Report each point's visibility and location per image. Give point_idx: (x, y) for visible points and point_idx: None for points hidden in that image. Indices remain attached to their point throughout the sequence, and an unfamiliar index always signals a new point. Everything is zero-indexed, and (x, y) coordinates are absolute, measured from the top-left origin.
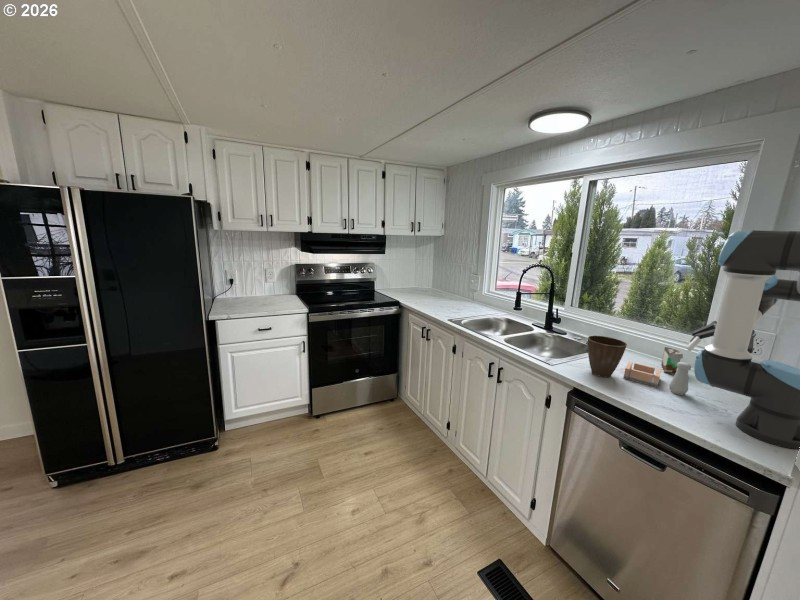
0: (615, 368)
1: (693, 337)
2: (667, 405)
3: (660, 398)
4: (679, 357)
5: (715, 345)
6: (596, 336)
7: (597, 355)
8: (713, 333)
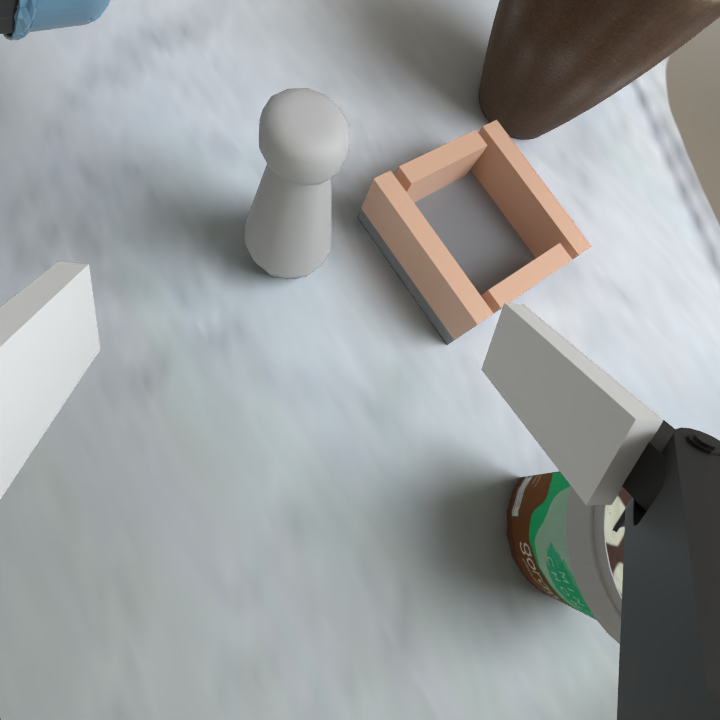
0: (495, 69)
1: (667, 426)
2: (193, 62)
3: (255, 105)
4: (577, 541)
5: None
6: None
7: None
8: (658, 667)
